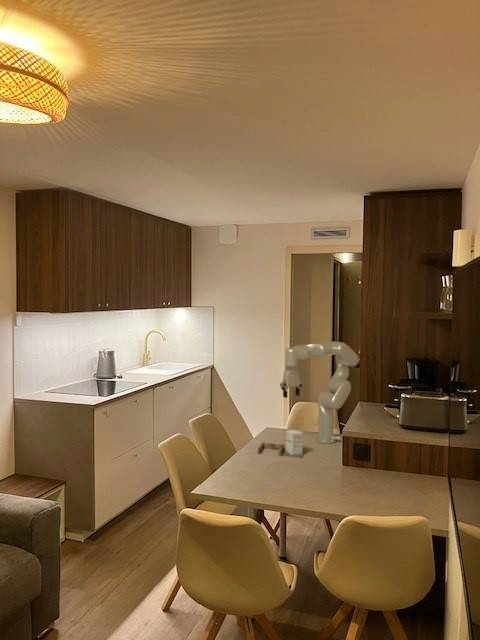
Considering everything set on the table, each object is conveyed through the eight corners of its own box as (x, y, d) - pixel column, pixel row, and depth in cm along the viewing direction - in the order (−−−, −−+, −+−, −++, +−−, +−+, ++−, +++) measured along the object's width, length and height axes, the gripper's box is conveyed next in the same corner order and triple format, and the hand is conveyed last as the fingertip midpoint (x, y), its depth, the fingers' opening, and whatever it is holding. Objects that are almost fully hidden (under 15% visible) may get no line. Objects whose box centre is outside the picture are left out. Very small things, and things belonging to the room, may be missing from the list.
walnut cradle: (284, 449, 318) (284, 444, 318) (281, 456, 305) (281, 450, 305) (262, 447, 321) (262, 442, 321) (257, 453, 309) (257, 448, 308)
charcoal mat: (304, 452, 314) (304, 451, 314) (302, 457, 303) (302, 456, 303) (286, 450, 317) (286, 449, 317) (283, 455, 306) (283, 454, 306)
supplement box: (285, 452, 312) (285, 430, 311) (295, 450, 315) (296, 429, 314) (291, 455, 305) (292, 433, 304) (302, 454, 308) (303, 432, 308)
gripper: (298, 366, 330) (298, 393, 331) (276, 368, 320) (276, 397, 322) (306, 368, 324) (306, 395, 325) (284, 370, 314) (284, 399, 315)
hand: (291, 396), depth 323 cm, fingers open, 9 cm apart
